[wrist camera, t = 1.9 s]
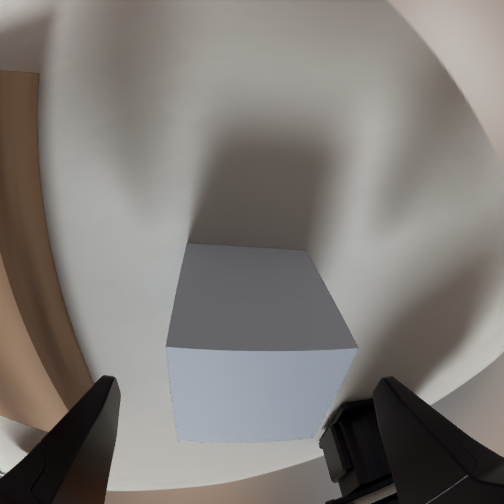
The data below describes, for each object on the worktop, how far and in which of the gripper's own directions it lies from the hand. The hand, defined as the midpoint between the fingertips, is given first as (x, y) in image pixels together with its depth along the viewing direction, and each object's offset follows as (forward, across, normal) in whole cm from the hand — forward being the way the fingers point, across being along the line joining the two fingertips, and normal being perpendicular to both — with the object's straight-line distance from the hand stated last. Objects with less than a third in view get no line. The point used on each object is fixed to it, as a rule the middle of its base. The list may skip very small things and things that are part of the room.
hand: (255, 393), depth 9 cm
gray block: (+5, 0, 0) cm, 5 cm away
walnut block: (+6, +14, 0) cm, 15 cm away
